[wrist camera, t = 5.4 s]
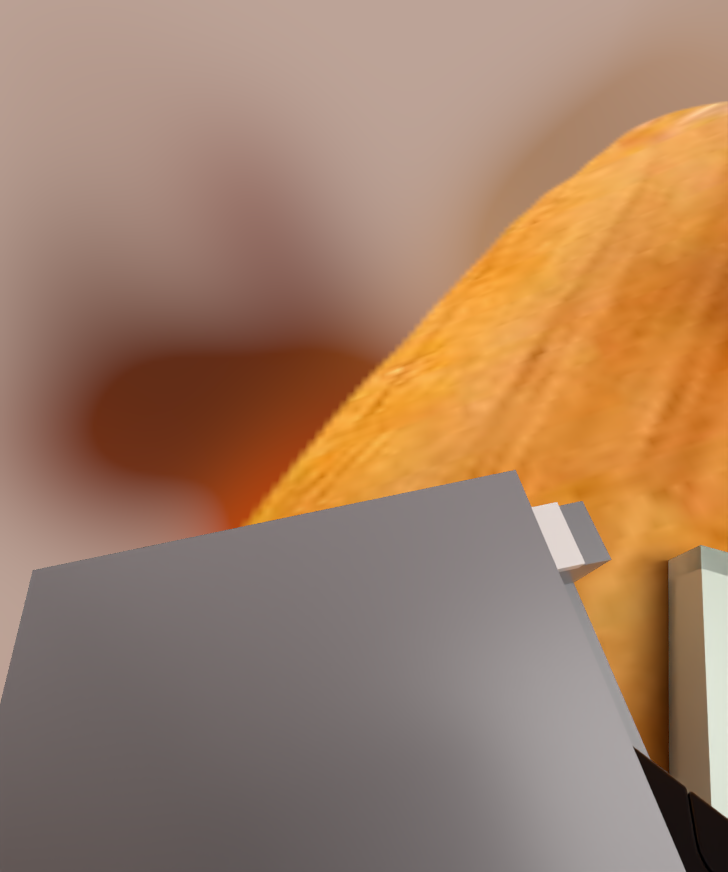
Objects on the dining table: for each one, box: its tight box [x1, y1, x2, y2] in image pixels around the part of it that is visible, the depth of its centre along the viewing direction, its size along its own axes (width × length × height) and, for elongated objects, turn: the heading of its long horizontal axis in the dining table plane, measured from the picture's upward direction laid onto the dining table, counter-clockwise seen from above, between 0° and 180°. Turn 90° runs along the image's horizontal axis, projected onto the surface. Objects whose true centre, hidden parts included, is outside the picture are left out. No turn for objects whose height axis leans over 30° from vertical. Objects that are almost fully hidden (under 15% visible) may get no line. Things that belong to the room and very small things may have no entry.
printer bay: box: [531, 501, 650, 759], centre depth 14 cm, size 9×12×7 cm
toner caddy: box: [0, 470, 686, 872], centre depth 8 cm, size 6×5×12 cm
